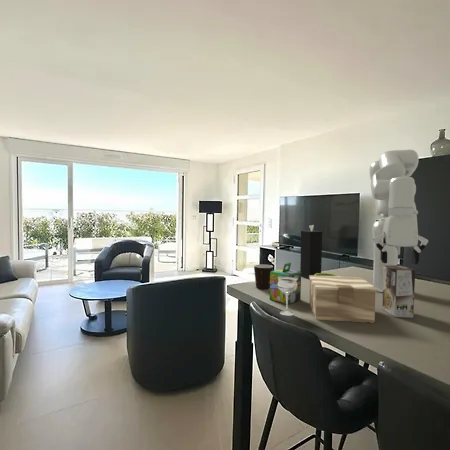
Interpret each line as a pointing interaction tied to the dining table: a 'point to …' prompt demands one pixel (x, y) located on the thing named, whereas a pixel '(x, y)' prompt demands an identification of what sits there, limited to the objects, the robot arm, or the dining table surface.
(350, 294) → the lid
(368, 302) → the box
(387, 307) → the coffee box
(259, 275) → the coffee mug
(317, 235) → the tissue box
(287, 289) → the wineglass
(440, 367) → the dining table surface
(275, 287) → the chalk box
